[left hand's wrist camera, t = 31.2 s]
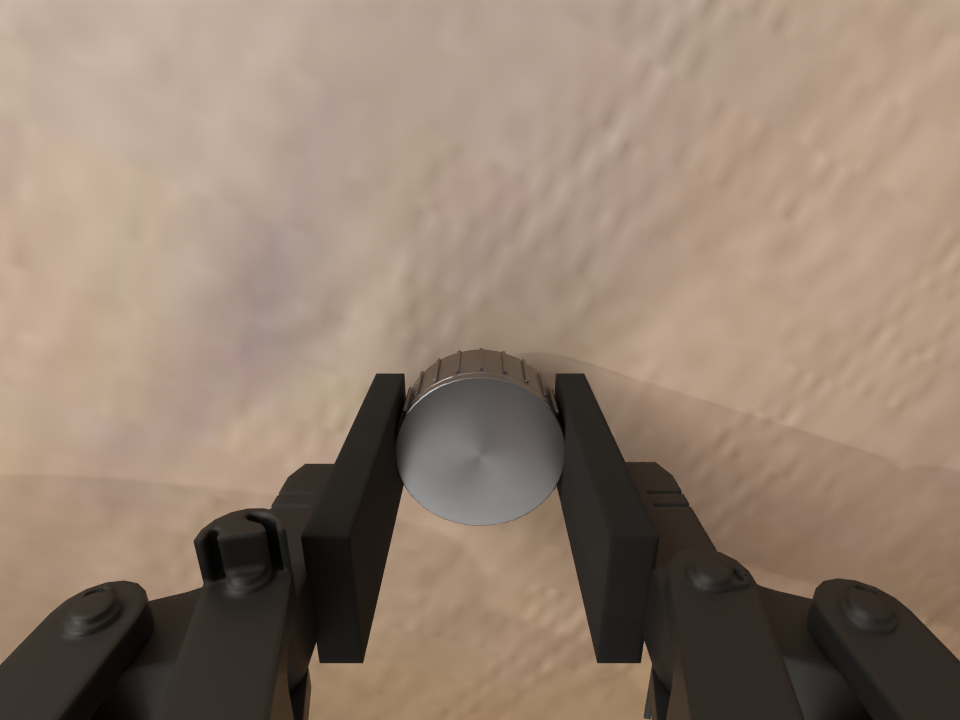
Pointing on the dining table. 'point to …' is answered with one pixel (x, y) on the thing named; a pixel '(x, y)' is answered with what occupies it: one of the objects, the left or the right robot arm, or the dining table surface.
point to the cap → (480, 439)
